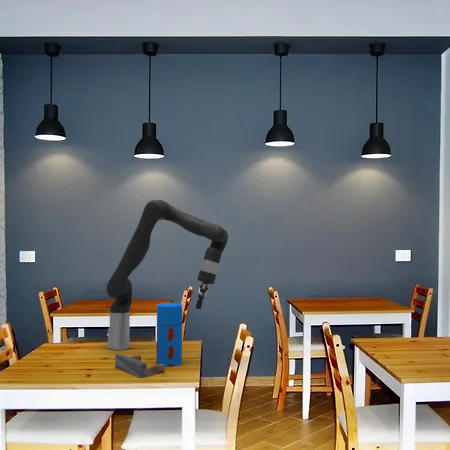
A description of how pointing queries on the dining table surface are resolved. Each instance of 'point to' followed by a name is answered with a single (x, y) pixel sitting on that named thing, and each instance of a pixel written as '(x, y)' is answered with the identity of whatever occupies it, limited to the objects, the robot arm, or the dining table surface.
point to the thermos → (169, 334)
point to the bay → (137, 366)
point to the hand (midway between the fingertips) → (198, 308)
